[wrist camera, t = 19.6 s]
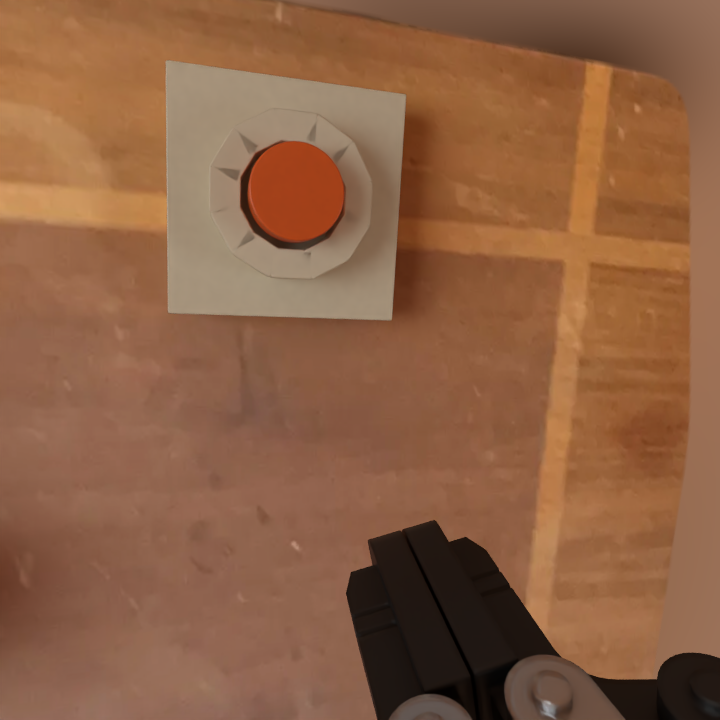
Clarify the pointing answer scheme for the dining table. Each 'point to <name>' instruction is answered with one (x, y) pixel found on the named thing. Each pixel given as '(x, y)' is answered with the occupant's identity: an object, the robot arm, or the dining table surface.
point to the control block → (230, 199)
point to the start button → (295, 192)
